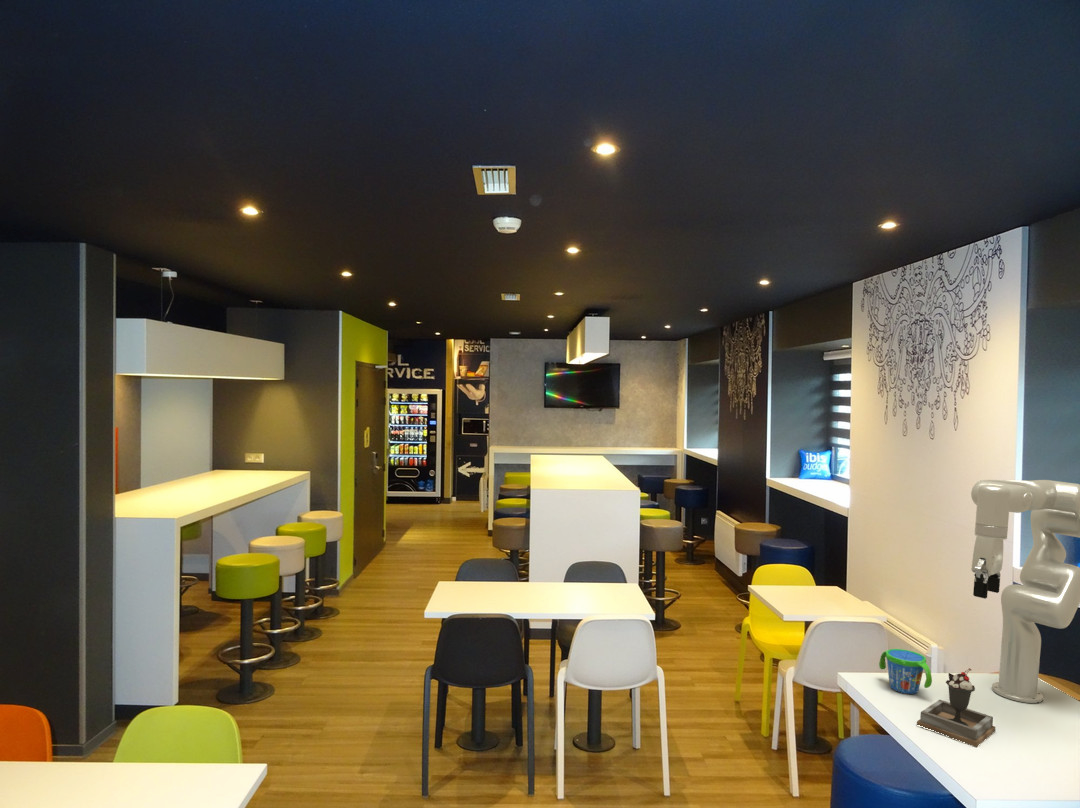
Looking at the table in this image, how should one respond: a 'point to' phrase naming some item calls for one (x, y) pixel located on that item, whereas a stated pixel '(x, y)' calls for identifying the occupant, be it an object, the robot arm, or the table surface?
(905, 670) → the snack cup
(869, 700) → the table surface
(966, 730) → the stand
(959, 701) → the sundae
